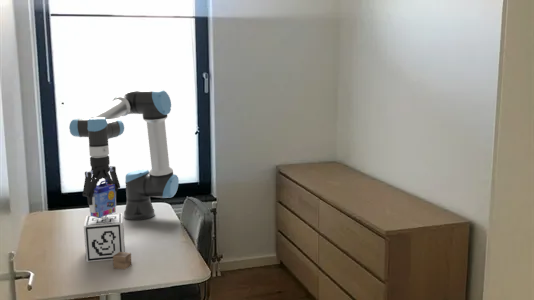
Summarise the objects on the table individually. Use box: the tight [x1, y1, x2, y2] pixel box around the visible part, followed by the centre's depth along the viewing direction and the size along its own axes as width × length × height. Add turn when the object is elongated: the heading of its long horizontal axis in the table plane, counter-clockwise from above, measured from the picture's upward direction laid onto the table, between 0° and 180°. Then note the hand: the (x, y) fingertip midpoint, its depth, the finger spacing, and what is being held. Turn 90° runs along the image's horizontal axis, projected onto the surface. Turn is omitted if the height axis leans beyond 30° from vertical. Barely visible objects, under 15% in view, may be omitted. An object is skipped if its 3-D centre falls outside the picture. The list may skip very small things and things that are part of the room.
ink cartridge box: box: [89, 179, 117, 218], centre depth 240 cm, size 10×6×14 cm, turn 152°
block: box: [83, 212, 126, 263], centre depth 243 cm, size 15×15×15 cm
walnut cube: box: [112, 251, 132, 270], centre depth 229 cm, size 5×5×5 cm
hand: (103, 209), depth 241 cm, fingers closed on ink cartridge box, 10 cm apart
